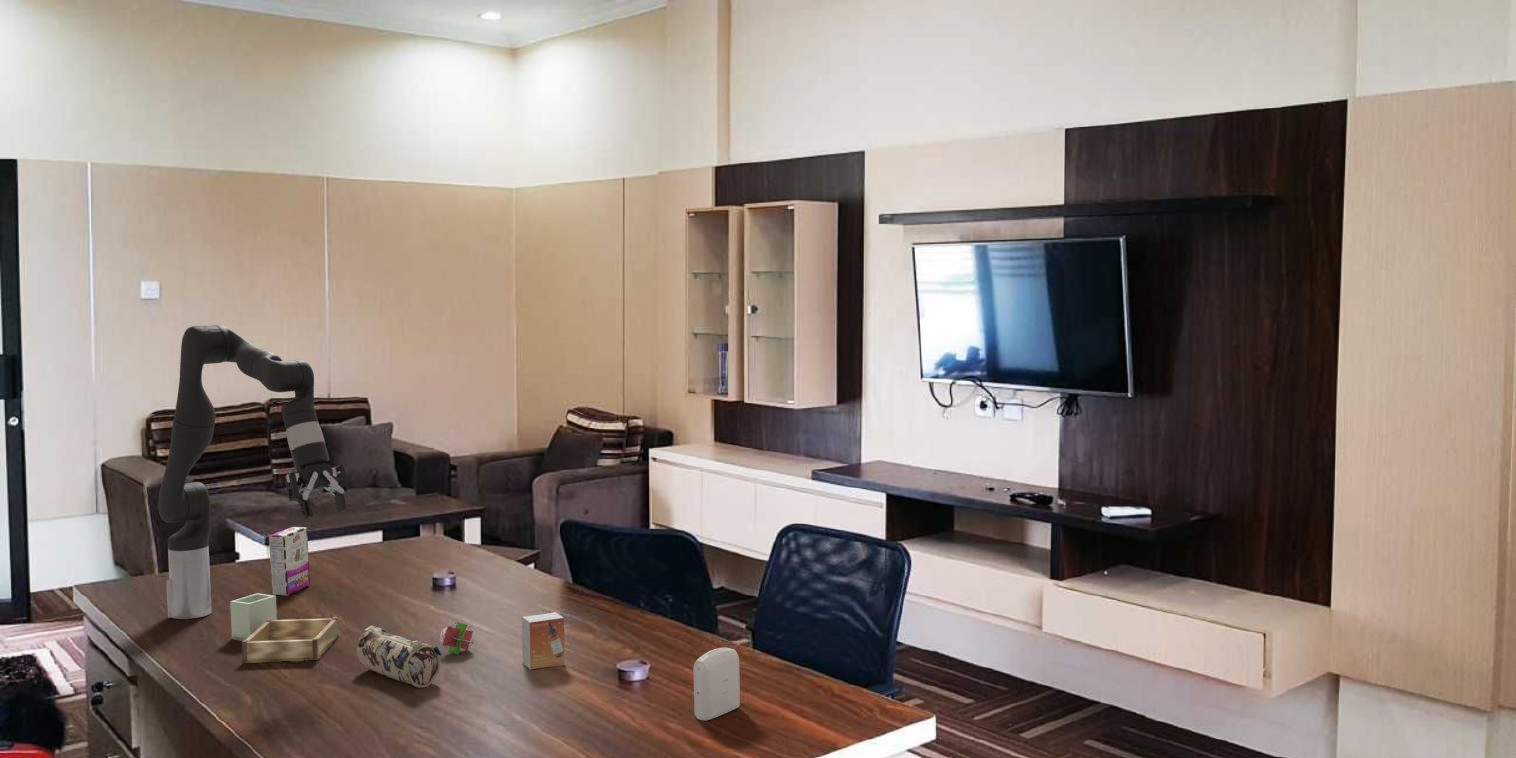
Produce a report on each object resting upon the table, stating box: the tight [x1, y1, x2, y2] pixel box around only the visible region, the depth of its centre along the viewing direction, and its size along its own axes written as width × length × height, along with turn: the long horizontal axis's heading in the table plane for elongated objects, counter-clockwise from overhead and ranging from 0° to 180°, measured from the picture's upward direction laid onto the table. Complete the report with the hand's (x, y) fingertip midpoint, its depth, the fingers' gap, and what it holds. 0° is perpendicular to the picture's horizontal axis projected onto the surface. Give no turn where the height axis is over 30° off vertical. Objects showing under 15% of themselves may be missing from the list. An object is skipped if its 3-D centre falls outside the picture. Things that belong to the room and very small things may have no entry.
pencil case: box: [356, 625, 442, 689], centre depth 262 cm, size 22×8×10 cm, turn 48°
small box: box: [521, 611, 566, 670], centre depth 269 cm, size 8×6×10 cm
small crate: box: [229, 592, 278, 642], centre depth 292 cm, size 6×8×9 cm
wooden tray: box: [241, 616, 339, 664], centre depth 281 cm, size 16×18×5 cm
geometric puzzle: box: [439, 621, 474, 656], centre depth 278 cm, size 7×7×8 cm
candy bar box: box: [268, 526, 311, 597], centre depth 334 cm, size 11×5×16 cm, turn 168°
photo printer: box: [693, 647, 741, 722], centre depth 238 cm, size 10×4×12 cm, turn 140°
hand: (325, 514), depth 277 cm, fingers open, 8 cm apart
